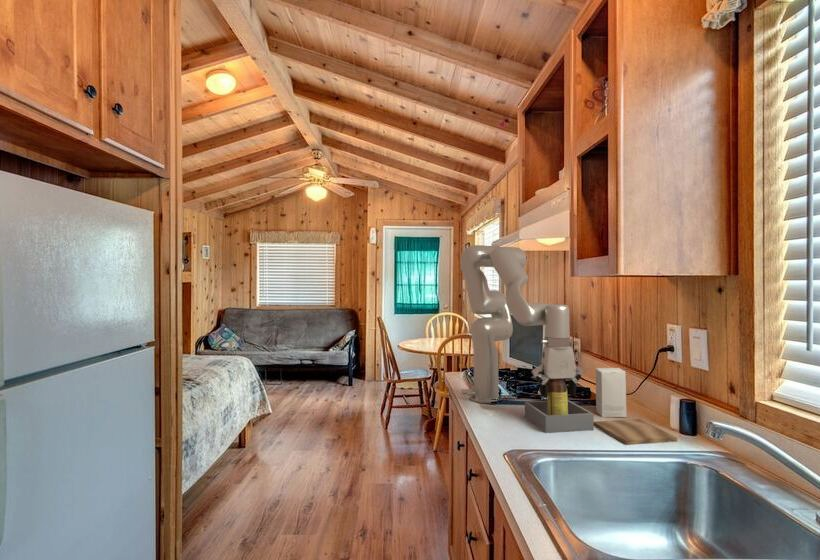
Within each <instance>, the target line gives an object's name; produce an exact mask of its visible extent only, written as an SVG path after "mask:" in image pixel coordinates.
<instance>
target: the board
mask: <svg viewBox="0 0 820 560" xmlns="http://www.w3.org/2000/svg"><path fill="white" fill-rule="evenodd" d="M594 428H597V429H599V430H600V431H601V432H604V433H605V434H607V435H609V436H610V437H612V438H613V439H616V440H617V441H618V442H620V443H622V444H624V445H625V446H628V445H629V446H630V445H643V444H658V442H661V443H669V442H668V441H676V442H678V437H677V436H675V435H674V434H671V433H669V432H668V431H665V430H663V429H661V428H659V427H656V426H655V425H652V424H650V423H648V422H646V421H644V420H643V419H640V418H637V419H618V420H615V419H614V420H601V421H598V420H597V421H594Z"/></svg>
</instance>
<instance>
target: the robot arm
mask: <svg viewBox="0 0 820 560" xmlns="http://www.w3.org/2000/svg"><path fill="white" fill-rule="evenodd" d="M461 253H462V254H461V256H460V261H459V263H460V264H459V265H460V269H461V274H462V277H463V278H464V282H465V286H466V291H467V298H468V302H469V308H470V310H471V312H472V313H473V314H475V315H479V316H482V315H485V316H486V315H491V316H490V317H489V316H487V317H479V318H477V319H475V320H474V321H473V322H472V324H471V326H470V334H471V335H470V336H471V340H472V349H473V351H472V352H473V385H472V386H471V387H470V388H468V389H467V388H466V389H465V388H464V389H462V388H461V395H466V396H469V399H470V401H473V402H475V403H481V404H492V403H491V402H494V401H497V399H496V398H498V397H499V352H498V349H497V346H496V344H495V342H500V341H506V340H509V339H510V338H511V337H512V335H513V332H514V331H513V330H514V328H513V327H514V326H513V321H512V316H513V319H515V321H516V322H517V323H518V324H519V325H521V326H524V327H531V326H532V327H533V326H535V327H536V326H544V339H541V341H540V342H541V344H544V346H543V348H542V353H541V361H540V365H539V366H537V367H535V368H533V369H532V370H531V374H532V376H533V377H534V379H535V380H536V381H537V382H538V384H539V394H540V395H541V396H542V397H543V398H547V381H548V380H549V379H564V380H566V379H567V380H569V381H568V394H569V395H570V396H573V397H576V396H577V395H576V393H577V384H578V382H579V380H580V379H581V378H582V376H583V373H584V372H585V371H584V368H583V367H580V366H578V365H577V364H576V360H575V359H576V358H575V353H574V349H573V347H572V346H571V344H570V342H571V340H570V339H571V338H570V335H571V333H570V331H571V330H570V308H569V306H568V305H567V304H560V303H559V304H556V303H555V304H554V303H547V302H538V303H537V302H529V303H528V301H527V300H526V299H525V297H524V296H523V294H522V291H521V288H522V287H524V286H525V285H526V283H528V280H529V276H528V274H527V272H526V271H525V270H524V267H525V266H526V263H527V255H526V253H525V251H524V250H523V249H521V248H520V247H516V246H515V247H514V246H498V245H485V244H484V245H482V244H476V245H475V244H474V245H470V246H468V247H466V248H464V250H463V251H462V252H461ZM481 268H494V270H495V272H496V273H497V274H498V276H499V277H500V279H501V281H502V282H503V284H504V286H505V288H506V292H505V294H504V293H503V292H502V291H500V290H496V289H495V290H494V289H493V290H491V289H490V288H489V284H488V279H487V277H486V274H485V273H484V272H483V271H482V269H481ZM511 315H512V316H511ZM539 373H540V374H541V376H539ZM489 399H490V400H489ZM491 399H496V400H491ZM498 400H499V399H498Z"/></svg>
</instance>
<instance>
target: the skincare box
mask: <svg viewBox="0 0 820 560" xmlns="http://www.w3.org/2000/svg"><path fill="white" fill-rule="evenodd" d="M626 373H627V371H625V370H623V369H621V368H620V367H595V406H596V408H595V409H596V410H595V411H596V413H597V414H599V415H600V416H601V418H627V417H628V416H627V381H626V379H627V377H626V375H627V374H626Z"/></svg>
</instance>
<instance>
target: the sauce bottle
mask: <svg viewBox="0 0 820 560" xmlns="http://www.w3.org/2000/svg"><path fill="white" fill-rule="evenodd" d="M565 380H566V379H549V380H548V381H547V382H546V385H547V397H546V401H547V404H548V415H564V414H568V400H569V399H568V386H567V384H566V383H567V382H566V381H565Z"/></svg>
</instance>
